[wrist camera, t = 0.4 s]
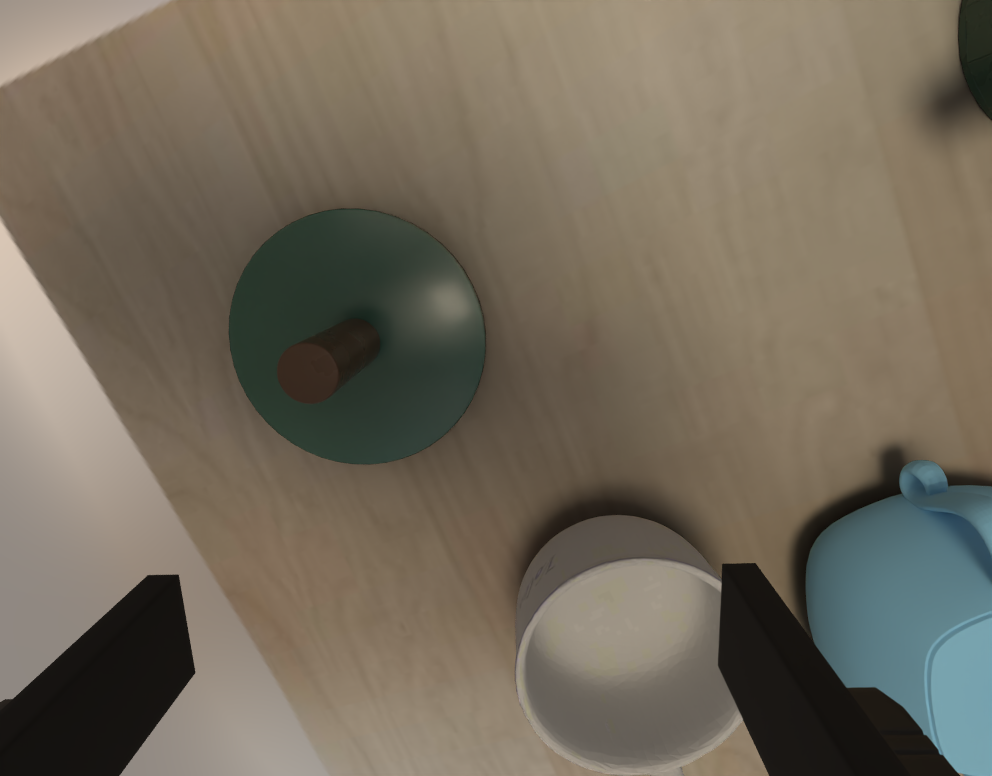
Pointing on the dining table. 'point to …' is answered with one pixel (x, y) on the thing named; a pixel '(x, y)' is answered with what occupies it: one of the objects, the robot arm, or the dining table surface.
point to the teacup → (622, 648)
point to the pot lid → (357, 336)
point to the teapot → (914, 607)
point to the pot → (977, 49)
